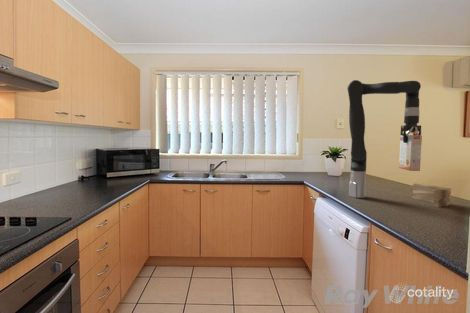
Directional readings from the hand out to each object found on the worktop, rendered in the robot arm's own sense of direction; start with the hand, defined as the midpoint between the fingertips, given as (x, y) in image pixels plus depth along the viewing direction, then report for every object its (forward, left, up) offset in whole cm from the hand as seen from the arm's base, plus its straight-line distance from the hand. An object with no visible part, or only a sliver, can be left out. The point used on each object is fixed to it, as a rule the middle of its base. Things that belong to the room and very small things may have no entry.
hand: (410, 142), depth 165 cm
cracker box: (0, 0, -17) cm, 17 cm away
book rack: (+7, -6, -36) cm, 37 cm away
